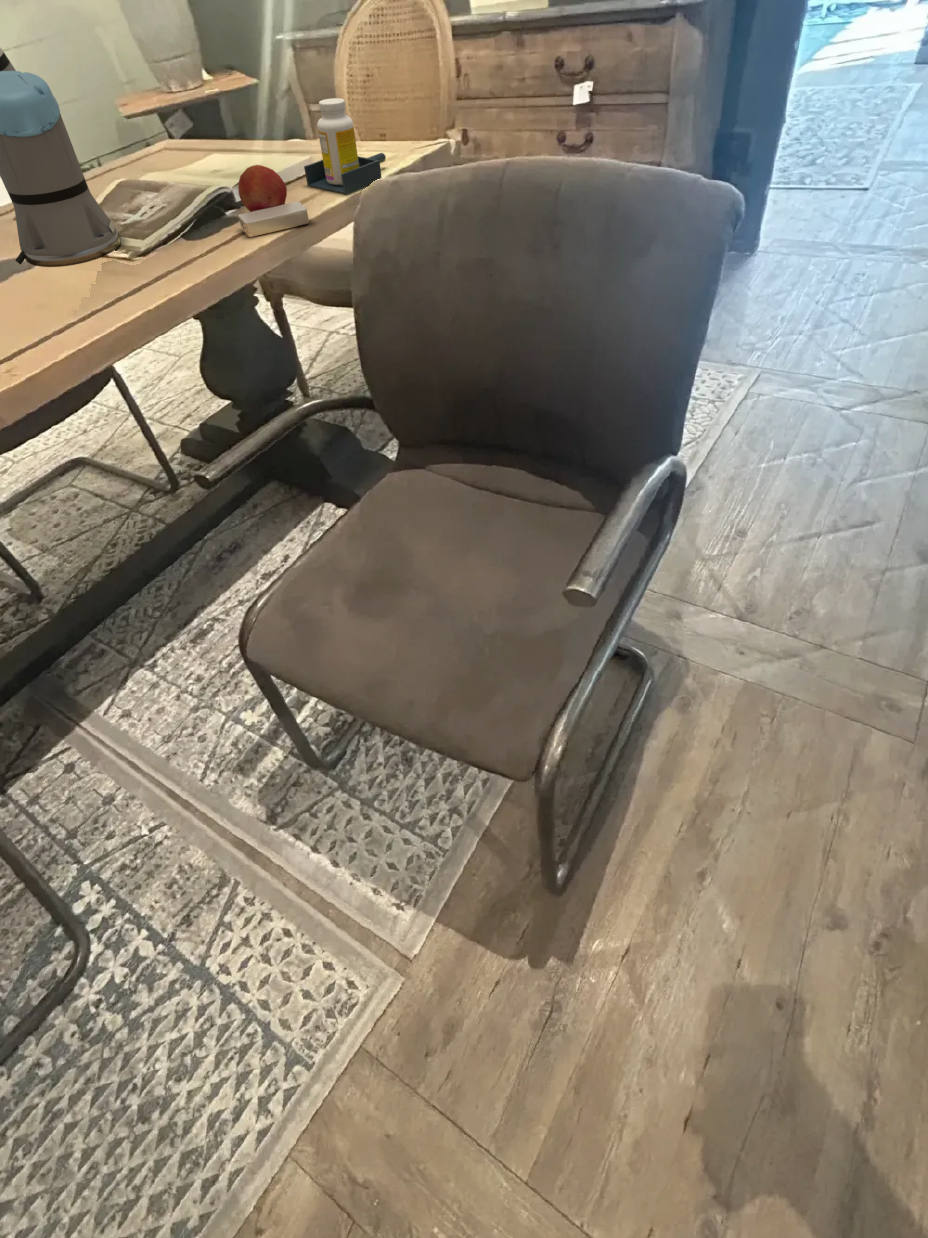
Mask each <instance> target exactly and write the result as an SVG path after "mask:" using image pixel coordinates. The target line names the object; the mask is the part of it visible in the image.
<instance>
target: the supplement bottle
mask: <svg viewBox="0 0 928 1238" xmlns="http://www.w3.org/2000/svg"><path fill="white" fill-rule="evenodd" d="M318 107H319V111H320V113H321V117H320V118H319V119H318V121H317V123H316V125H317V131H318V132H317V133H318V139H319V144H320V151H321V157H322V160H323V163H324V169H325V175H326V180H327V182H328V183H329V184H332V185H343V183H342V176H341V174H343V173H345V172H348V171H351V170H353V169H356V168H358V167H359V162H358V147H357V142H356V141H357V140H356V134H355V126H354V122H353V120H352V118H351V117H350V116H349V115H347V114H346V108H347V106H346V100H345V99H344V98H339V97H338V98H337V97H336V98H335V97H333V98H325V99H322V100H320V101H319V102H318Z"/></svg>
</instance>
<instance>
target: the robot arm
mask: <svg viewBox="0 0 928 1238" xmlns="http://www.w3.org/2000/svg"><path fill="white" fill-rule="evenodd" d="M0 179H1V181H2V183H3V186H4V187H5V190H6V192H7V194H8V196H9V198H10V200H11V203H12V205H13V209H14V215H15V216H14V217H15V222H16V223H15V224H16V229H17V236H18V244H19V248H20V253H19V254H18V255H17V256H16V259H15V260H14V261H15V262H16V263H18V264H19V265H22V264H23V262H24V261H26V262H27V264H30V265H32V266H35V267H41V268H61V267H62V268H63V267H70V266H76V265H81V264H85V263H89V262H93V261H95V260H98V259H101V258H103V257H105V256H107V255H109V254H111V253H112V252H114V251H115V250H117V249H119V248H118V247H120V245H121V239H120V236H119V232H118V230H117V229H116V226H117V225H116V224H115V223H114V221H113V220H112V219H110V218H109V217H108V215H107V214H106V213H105V211H104V210H103V208H102V207H101V205H100V204H99V203H98V201H97V200H96V198H95V197H94V195H92V193H91V190H90V188H89V185H88V184H87V180H86V178H85V175H84V172H83V170H82V167H81V164H80V162H79V159H78V157H77V154H76V151H75V149H74V146H73V143H72V141H71V138H70V136H69V133H68V130H67V128H66V124H65V122H64V119H63V117H62V115H61V110H60V106H59V102H58V101H57V99H56V97H55V96H54V94H53V92H52V90H51V87H50V85H49V84H48V82H46V81H45V80H44V79H43V78H42V77H41V76H39V75H37V74H35V73H32V72H21V71H20V70H16V68H15V66H14V65H13V64H12V62H11V61H10V59H9V58H8V56H7V55H6V52H5V51H4V50H3V49H2V47H0Z"/></svg>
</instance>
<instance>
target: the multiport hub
mask: <svg viewBox="0 0 928 1238" xmlns="http://www.w3.org/2000/svg"><path fill="white" fill-rule="evenodd" d="M238 219H239V224H240V228H241V231H242V232H243V233H244V234H245V235H246V236H247V237H248V238H254V237H257V236H262V235H265V234H266V235H267V234H269V233H275V232H279V231H282V230H287V229H291V228H295V227H298V226H303V225H308V224H310V220H309V215H308V208H307V207H306V206H305V205H303V204H302V202H301V201H292V202H288V203H285V204H284V205H279V206H275V207H271V208H266V209H262V210H257V211H253V212H250V211H249V212H245V213H241V214H238Z"/></svg>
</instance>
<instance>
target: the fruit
mask: <svg viewBox="0 0 928 1238" xmlns="http://www.w3.org/2000/svg"><path fill="white" fill-rule="evenodd" d="M287 195H288V189H287V185H286V183H285V181H284V180H283V179H282V177H281V176H280V174H279V173H278V172H276V171H275V170H274V169H273V168H270V167H267V166H264V165H261V164H254V165H251V166H249V167H247V168H246V169H245V170H244V171H243V172H242V174H240V176H239V179H238V196H239V198H240V201H241V203H242V205H243V206H244V208H246V209H247V210H248V211H249V212H253V211H257V210H262V209H266V208H271V207H275V206H279V205H284V204H286V200H287Z"/></svg>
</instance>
